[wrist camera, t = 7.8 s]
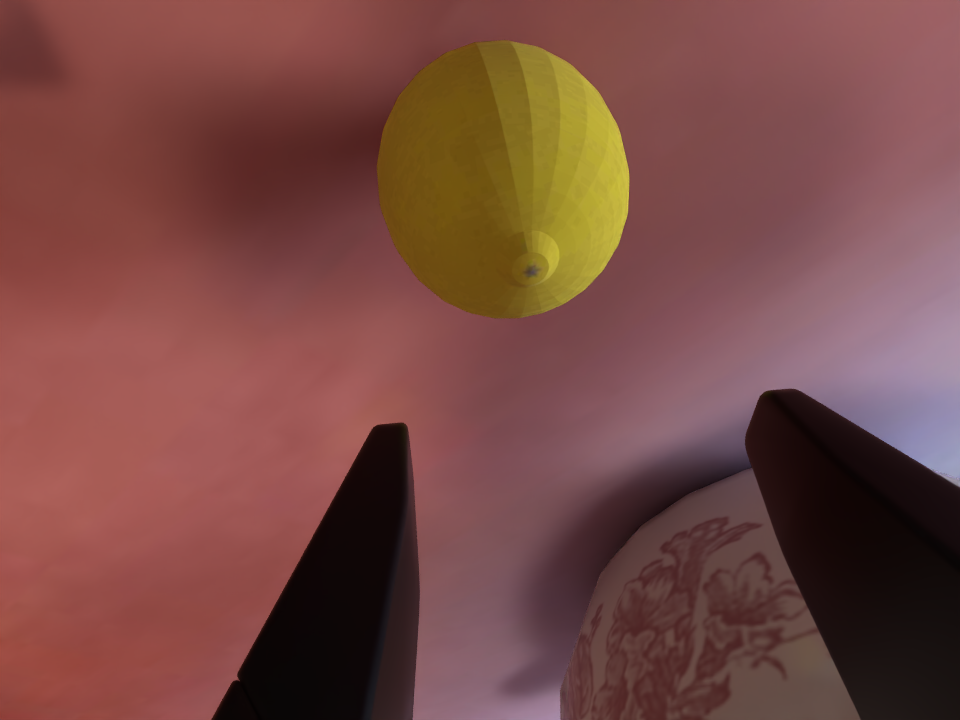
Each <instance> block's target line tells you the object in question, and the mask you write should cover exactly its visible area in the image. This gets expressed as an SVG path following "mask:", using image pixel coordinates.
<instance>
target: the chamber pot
mask: <svg viewBox="0 0 960 720" xmlns="http://www.w3.org/2000/svg"><path fill="white" fill-rule="evenodd" d="M931 470H932V471H934V472H935V473H937V474H939V475H940V476H942V477H944V478H945V479H947V480H949V481H950V482H952V483H954V484H955V485H957V486H959V487H960V479H959V478H956V477H953V476H950V475H947V474H945V473H942V472H939V471H936V470H933V469H931ZM560 719H561V720H861V719H860V717H859V715H858V713H857V710H856V708H855V706H854V704H853V702H852V700H851V698H850V696H849V694H848V692H847V689H846V687H845V685H844V683H843V681H842V679H841V677H840V675H839V673H838V670H837V668H836V666H835V664H834V662H833V660H832V658H831V656H830V654H829V651H828V649H827V647H826V645H825V643H824V641H823V639H822V637H821V635H820V633H819V630H818V628H817V626H816V624H815V622H814V620H813V618H812V616H811V614H810V611H809V609H808V607H807V605H806V603H805V601H804V599H803V597H802V595H801V593H800V590H799V588H798V586H797V584H796V582H795V580H794V578H793V576H792V574H791V571H790V569H789V567H788V565H787V563H786V560H785V558H784V556H783V553H782V551H781V548H780V546H779V543H778V540H777V538H776V535H775V532H774V529H773V526H772V523H771V521H770V518H769V515H768V512H767V509H766V506H765V503H764V500H763V498H762V495H761V492H760V489H759V486H758V483H757V480H756V477H755V475H754V472H753V469H752V468H750V469H746V470H744V471H741V472H739V473H737V474H734V475H732V476H730V477H727V478H725V479H722V480H720V481H718V482H715V483H713V484H711V485H708V486H706V487H704V488H701V489H699V490H697V491H694V492H692V493H690V494H687V495H686V496H684V497H683V498H681V499H680V500H678V501H677V502H675V503H674V504H673V505H671V506H670V507H668V508H667V509H665V510H664V511H662V512H661V513H659V514H658V515H656V516H655V517H653V518H652V519H650V520H649V521H647V522H646V523H644V524H643V525H641V526H640V527H639V528H638V530H637V531H636V532H635V533H634V534H633V535H632V536H631V537H630V538H629V539H628V540H627V542H626V543H625V544H624V545H623V546H622V547H621V548H620V549H619V550H618V551H617V553H616V554H615V555H614V556H613V557H612V558H611V559H610V561H609V562H608V564H607V565H606V567H605V568H604V569H603V571H602V572H601V574H600V576H599V579H598V581H597V584H596V587H595V589H594V592H593V594H592V597H591V599H590V602H589V605H588V607H587V610H586V613H585V616H584V619H583V622H582V625H581V628H580V631H579V634H578V637H577V640H576V643H575V646H574V650H573V653H572V656H571V659H570V662H569V665H568V668H567V671H566V674H565V677H564V680H563V683H562V686H561V689H560Z"/></svg>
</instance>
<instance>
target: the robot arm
mask: <svg viewBox="0 0 960 720" xmlns="http://www.w3.org/2000/svg"><path fill="white" fill-rule="evenodd" d="M745 446H746V451H747V454H748V457H749V460H750V463H751V466H752V469H753V472H754V475H755V477H756V480H757V483H758V486H759V489H760V492H761V495H762V498H763V500H764V503H765V506H766V509H767V512H768V515H769V518H770V521H771V523H772V526H773V529H774V532H775V535H776V538H777V540H778V543H779V546H780V548H781V551H782V553H783V556H784V558H785V560H786V563H787V565H788V567H789V569H790V571H791V574H792V576H793V578H794V580H795V582H796V584H797V586H798V588H799V590H800V593H801V595H802V597H803V599H804V601H805V603H806V605H807V607H808V609H809V611H810V614H811V616H812V618H813V620H814V622H815V624H816V626H817V628H818V630H819V633H820V635H821V637H822V639H823V641H824V643H825V645H826V647H827V649H828V651H829V654H830V656H831V658H832V660H833V662H834V664H835V666H836V668H837V670H838V673H839V675H840V677H841V679H842V681H843V683H844V685H845V687H846V689H847V692H848V694H849V696H850V698H851V700H852V702H853V704H854V706H855V708H856V710H857V713H858V715H859V717H860V719H861V720H960V487H959V486H957V485H955V484H954V483H952V482H950V481H949V480H947V479H945V478H944V477H942V476H940V475H939V474H937V473H935V472H934V471H932V470H931V469H929V468H927V467H926V466H924V465H922V464H921V463H919V462H917V461H916V460H914V459H912V458H911V457H909V456H907V455H906V454H904V453H902V452H901V451H899V450H897V449H896V448H894V447H892V446H891V445H889V444H887V443H886V442H884V441H882V440H881V439H879V438H877V437H876V436H874V435H872V434H871V433H869V432H867V431H866V430H864V429H862V428H861V427H859V426H857V425H856V424H854V423H852V422H851V421H849V420H847V419H846V418H844V417H842V416H841V415H839V414H837V413H836V412H834V411H832V410H831V409H829V408H827V407H826V406H824V405H822V404H821V403H819V402H817V401H816V400H814V399H813V398H811V397H809V396H808V395H806V394H804V393H803V392H801V391H799V390H796V389H782V390H770V391H766V392H764V393H763V394H762V395H761V396H760V398H759V400H758V402H757V405H756V408H755V410H754V413H753V416H752V418H751V421H750V424H749V427H748V429H747V432H746V437H745ZM419 604H420V581H419V561H418V544H417V528H416V511H415V495H414V479H413V467H412V458H411V450H410V441H409V432H408V427H407V425H406V424H404V423H392V424H380V425H376V426H375V427H373V429H372V430H371V432H370V433H369V435H368V437H367V439H366V441H365V442H364V444H363V446H362V448H361V450H360V452H359V453H358V455H357V457H356V459H355V461H354V462H353V464H352V466H351V468H350V470H349V472H348V473H347V475H346V477H345V479H344V481H343V482H342V484H341V486H340V488H339V490H338V491H337V493H336V495H335V497H334V499H333V501H332V502H331V504H330V506H329V508H328V510H327V511H326V513H325V515H324V517H323V519H322V521H321V522H320V524H319V526H318V528H317V530H316V531H315V533H314V535H313V537H312V539H311V540H310V542H309V544H308V546H307V548H306V550H305V551H304V553H303V555H302V557H301V559H300V560H299V562H298V564H297V566H296V568H295V570H294V571H293V573H292V575H291V577H290V579H289V580H288V582H287V584H286V586H285V588H284V589H283V591H282V593H281V595H280V597H279V599H278V600H277V602H276V604H275V606H274V608H273V609H272V611H271V613H270V615H269V617H268V618H267V620H266V622H265V624H264V626H263V628H262V629H261V631H260V633H259V635H258V637H257V638H256V640H255V642H254V644H253V646H252V648H251V649H250V651H249V653H248V655H247V657H246V658H245V660H244V662H243V664H242V666H241V667H240V669H239V671H238V673H237V677H238V679H239V681H238V680H235V681H233V682H232V683H231V685H230V687H229V689H228V690H227V692H226V694H225V696H224V698H223V699H222V701H221V703H220V705H219V707H218V709H217V710H216V712H215V714H214V716H213V718H212V720H413V705H414V688H415V672H416V656H417V640H418V624H419Z"/></svg>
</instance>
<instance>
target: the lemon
mask: <svg viewBox="0 0 960 720" xmlns="http://www.w3.org/2000/svg"><path fill="white" fill-rule="evenodd" d="M377 176H378V188H379V200H380V207H381V210H382V214H383V216H384V219H385V222H386V224H387V227H388V230H389V232H390V235H391V238H392V240H393V243H394V245H395V247H396V249H397V251H398V252H399V254H400V255H401V257H402V258H403V259H404V261H405V262H406V263H407V265H408V266H409V268H410V269H411V270H412V272H413V273H414V274H415V276H416V277H417V278H418V280H419V281H420V282H422V283H423V284H424V285H425V286H426V287H428V288H429V289H430V290H431V291H432V292H434V293H435V294H436V295H437V296H439V297H440V298H441V299H442V300H443V301H445V302H447V303H449V304H451V305H453V306H455V307H458V308H460V309H462V310H464V311H466V312H469V313H472V314H477V315H482V316H486V317H491V318H522V317H527V316H532V315H537V314H541V313H544V312H546V311H549V310H551V309H553V308H556V307H558V306H560V305H563V304H565V303H566V302H568V301H569V300H571V299H572V298H573V297H575V296H576V295H578V294H579V293H581V292H582V291H584V290H585V289H586V288H587V287H588V286H589V285H590V284H591V283H592V282H593V280H594V279H595V278H596V277H597V276H598V275H599V274H600V273H601V272H602V271H603V269H604V268H605V266H606V265H607V263H608V261H609V260H610V258H611V256H612V254H613V253H614V251H615V249H616V248H617V246H618V244H619V241H620V237H621V234H622V231H623V228H624V225H625V221H626V218H627V214H628V199H629V169H628V164H627V160H626V156H625V151H624V147H623V143H622V138H621V134H620V131H619V128H618V126H617V124H616V122H615V120H614V118H613V117H612V115H611V113H610V111H609V109H608V108H607V106H606V104H605V102H604V100H603V99H602V97H601V95H600V94H599V92H598V91H597V90H596V89H595V88H594V87H593V86H592V85H591V84H590V83H589V82H588V81H587V80H586V79H585V78H584V77H583V76H582V75H581V74H580V73H579V72H578V71H577V70H576V69H575V68H574V67H573V66H572V65H571V64H570V63H568V62H566V61H564V60H563V59H561V58H559V57H557V56H555V55H553V54H551V53H549V52H547V51H545V50H544V49H542V48H540V47H536V46H532V45H527V44H522V43H517V42H512V41H507V40H499V41H485V42H474V43H471V44H468V45H466V46H463V47H460V48H458V49H455V50H452V51H449V52H447V53H444V54H443V55H442V56H440V57H439V58H437V59H436V60H435V61H433V62H432V63H430V64H429V65H427V66H426V67H425V68H423V69H422V70H420V71H419V72H418V74H417V75H416V76H415V77H414V78H413V79H412V81H411V82H410V83H409V84H408V85H407V87H406V88H405V89H404V90H403V91H402V93H401V94H400V95H399V96H398V98H397V100H396V102H395V104H394V107H393V109H392V111H391V113H390V115H389V117H388V119H387V122H386V124H385V126H384V129H383V133H382V138H381V144H380V150H379V155H378V161H377Z"/></svg>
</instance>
